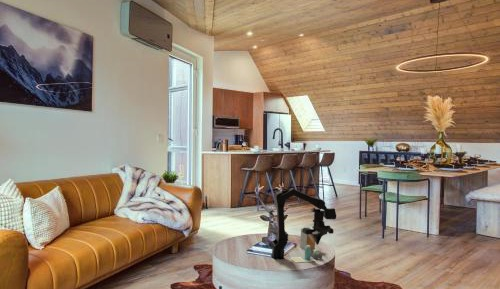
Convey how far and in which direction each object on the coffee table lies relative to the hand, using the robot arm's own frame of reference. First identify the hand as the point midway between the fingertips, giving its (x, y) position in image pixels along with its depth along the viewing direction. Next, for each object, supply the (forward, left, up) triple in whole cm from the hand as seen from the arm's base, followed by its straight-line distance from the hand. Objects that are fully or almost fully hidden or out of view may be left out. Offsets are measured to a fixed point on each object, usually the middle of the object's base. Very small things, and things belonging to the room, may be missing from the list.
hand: (317, 244), depth 221 cm
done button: (0, 0, -8) cm, 8 cm away
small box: (+3, +18, -8) cm, 20 cm away
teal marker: (-8, -2, -8) cm, 11 cm away
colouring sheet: (-11, -2, -8) cm, 14 cm away
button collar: (0, 0, -8) cm, 8 cm away
